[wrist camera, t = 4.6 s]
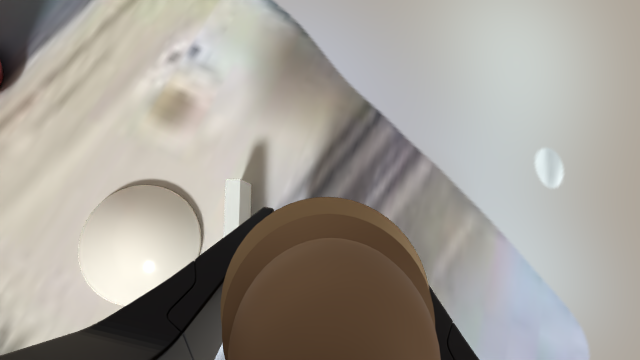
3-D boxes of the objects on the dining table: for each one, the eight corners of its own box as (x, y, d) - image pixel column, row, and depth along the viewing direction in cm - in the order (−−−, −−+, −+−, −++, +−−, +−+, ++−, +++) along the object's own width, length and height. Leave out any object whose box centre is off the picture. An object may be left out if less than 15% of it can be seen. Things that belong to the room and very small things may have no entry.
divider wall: (248, 316, 18) (235, 335, 15) (234, 316, 18) (219, 336, 15) (251, 184, 20) (240, 178, 17) (239, 184, 20) (225, 179, 17)
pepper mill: (366, 251, 16) (691, 468, 2) (311, 295, 16) (286, 933, 2) (324, 196, 17) (380, 93, 3) (269, 237, 16) (-7, 369, 2)
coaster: (223, 254, 19) (221, 255, 18) (121, 330, 18) (117, 332, 18) (162, 163, 20) (158, 162, 19) (61, 231, 19) (56, 231, 18)
